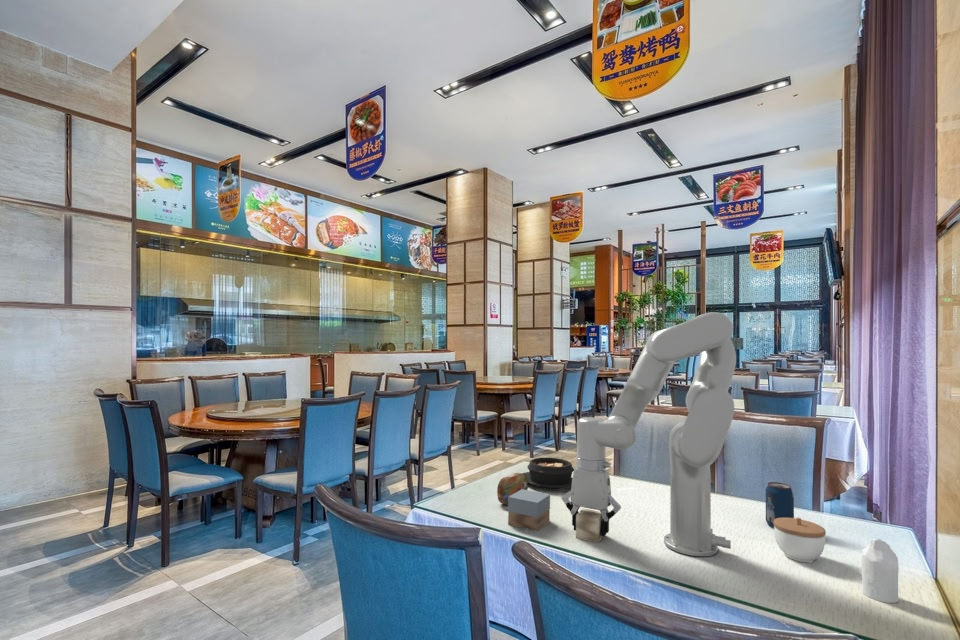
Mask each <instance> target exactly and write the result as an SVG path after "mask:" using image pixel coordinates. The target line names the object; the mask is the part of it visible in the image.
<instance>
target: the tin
mask: <svg viewBox="0 0 960 640" xmlns="http://www.w3.org/2000/svg"><path fill="white" fill-rule="evenodd" d="M523 473H524V472H521V473H520V472H515V473H512V474H509V475H507V476H504V477H503V478H501V479H500V480H499V482H498V484H497V487H496V488H497V490H496V492H497V493H496V494H497V495H496V496H497V500H498V501H499V503H500V504H502V505H506V506H508V497H509V496H511V495H512V494H514V493H516V492H518V491H520V490H521V489H524V490H528V488H529V487H528V486H529V483H528V480H527V477H526V475H525V474H523Z"/></svg>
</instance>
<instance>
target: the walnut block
mask: <svg viewBox="0 0 960 640" xmlns="http://www.w3.org/2000/svg"><path fill="white" fill-rule="evenodd" d="M550 509H551V508H550ZM550 509H549V510H547V511H546V512H544V513H543V514H542V515H540V516H539V517H538V518H537V517H532V516H527V515H523V514H518V513H514V512H509V511H508V510H507V511H508V512H507V513H508V515H507V516H508V517H507V519H508V520H507V524H508V525H509V526H512V527H517V528H522V529H526V528H528V529H527V530H531V529H532V530H531V531H535V530H536V531H537V532H539V531H540V530H541V529H542V528H544V526H545V525H547V523H549V522H550V520H551V519H550V517H551V516H550V514H551V512H550ZM538 530H539V531H538Z"/></svg>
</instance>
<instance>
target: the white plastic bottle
mask: <svg viewBox="0 0 960 640" xmlns="http://www.w3.org/2000/svg"><path fill="white" fill-rule="evenodd" d="M894 551H895V550H893V549H892V548H891V546H890V544H888V543H887V542H886V541H885V540H884V541H883V540H882V539H881V538H875V539H870V540H869V543H868V545H867V546H865V547H864V548H863V549H862V550H861V584H862V585H861V586H862V587H861V590H862V594H863V595H864V596H866V597H868V598H870V599H872V600H875V601H878V602H881V603H886V604H896V603H898V602H899V560H898V559H899V558H898V556H897V554H896V553H895V552H894Z"/></svg>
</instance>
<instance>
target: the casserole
mask: <svg viewBox="0 0 960 640" xmlns="http://www.w3.org/2000/svg"><path fill="white" fill-rule="evenodd" d="M526 467H527V469H528V471H526V472H522V473H523V474H525V475H526V477H527V480H528V484H531V485H532V486H536V487H537V488H540V487H541V489H544V488H546V490H561V489H563V490H571V486H572V478H573V473H574V468H575V467H573V465H572V462H570V461H569V460H566V459H561V458H558V457H557V458H556V457H536V458H532V459H531V460H530V461H529V464H528V465H527V466H526Z"/></svg>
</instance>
